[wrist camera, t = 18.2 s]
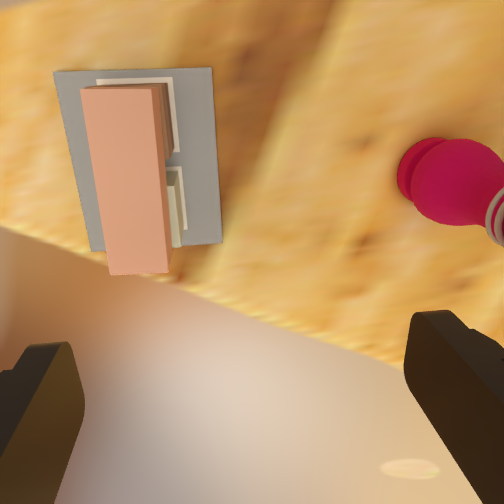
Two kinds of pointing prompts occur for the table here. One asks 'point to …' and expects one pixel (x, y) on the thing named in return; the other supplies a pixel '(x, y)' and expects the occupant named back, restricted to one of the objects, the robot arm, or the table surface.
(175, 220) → the sage cube
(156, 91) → the lintel
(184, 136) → the board
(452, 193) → the pepper mill
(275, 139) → the table surface
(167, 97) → the walnut cube
